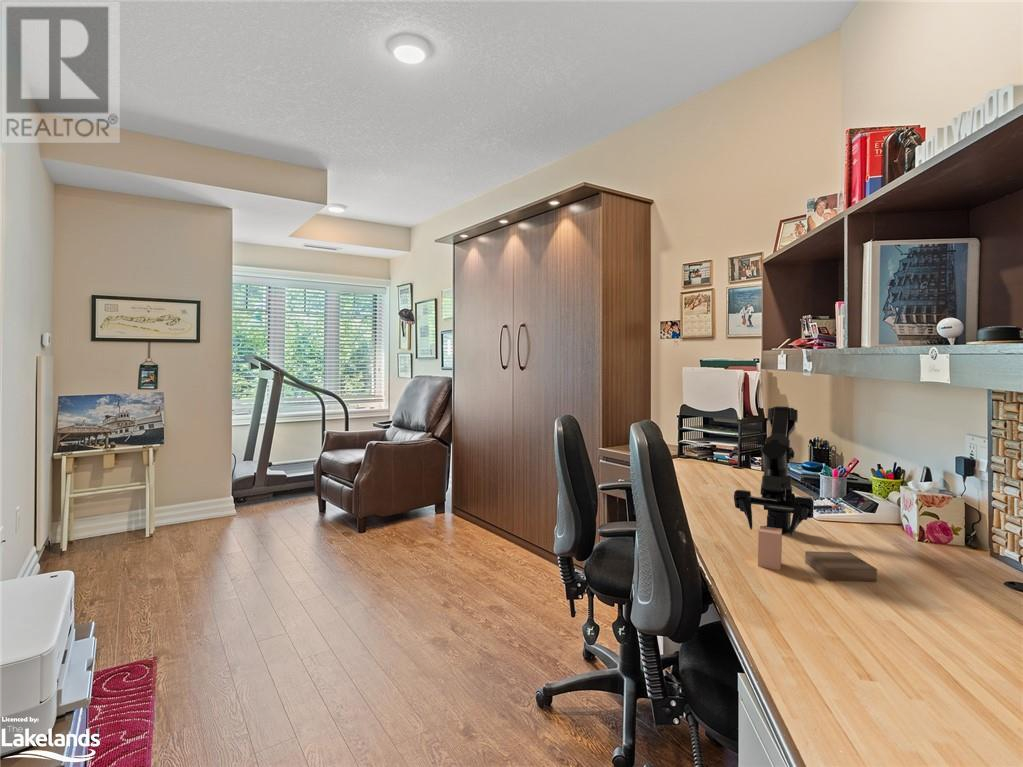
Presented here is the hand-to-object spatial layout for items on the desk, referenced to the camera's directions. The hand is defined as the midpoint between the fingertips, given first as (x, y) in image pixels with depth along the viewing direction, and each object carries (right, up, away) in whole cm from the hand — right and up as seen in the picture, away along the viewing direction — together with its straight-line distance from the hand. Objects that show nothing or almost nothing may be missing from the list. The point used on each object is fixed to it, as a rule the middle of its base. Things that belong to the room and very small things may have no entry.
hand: (770, 531), depth 134 cm
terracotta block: (0, -8, 0) cm, 8 cm away
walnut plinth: (+15, -9, -5) cm, 18 cm away
